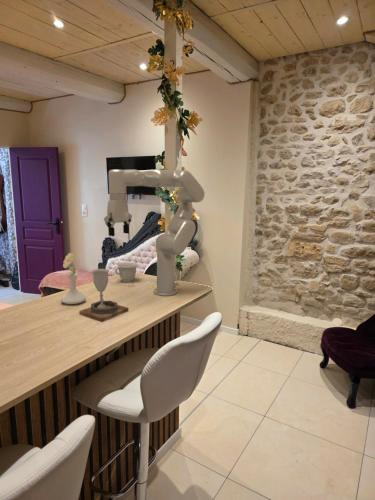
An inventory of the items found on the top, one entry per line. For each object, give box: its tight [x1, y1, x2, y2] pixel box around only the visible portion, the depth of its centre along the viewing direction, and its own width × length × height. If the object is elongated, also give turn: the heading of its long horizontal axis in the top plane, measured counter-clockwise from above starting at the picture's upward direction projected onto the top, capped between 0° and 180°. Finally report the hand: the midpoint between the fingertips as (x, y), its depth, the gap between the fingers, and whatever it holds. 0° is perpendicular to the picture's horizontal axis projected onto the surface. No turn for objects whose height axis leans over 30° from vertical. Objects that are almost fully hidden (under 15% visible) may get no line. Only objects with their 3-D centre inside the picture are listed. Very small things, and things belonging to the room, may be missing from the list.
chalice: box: [91, 268, 110, 309], centre depth 145 cm, size 7×7×18 cm
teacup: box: [114, 262, 139, 283], centre depth 197 cm, size 12×15×10 cm
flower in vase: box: [60, 252, 87, 305], centre depth 158 cm, size 13×11×25 cm
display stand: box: [78, 300, 129, 323], centre depth 148 cm, size 16×14×4 cm
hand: (119, 234), depth 155 cm, fingers open, 9 cm apart
